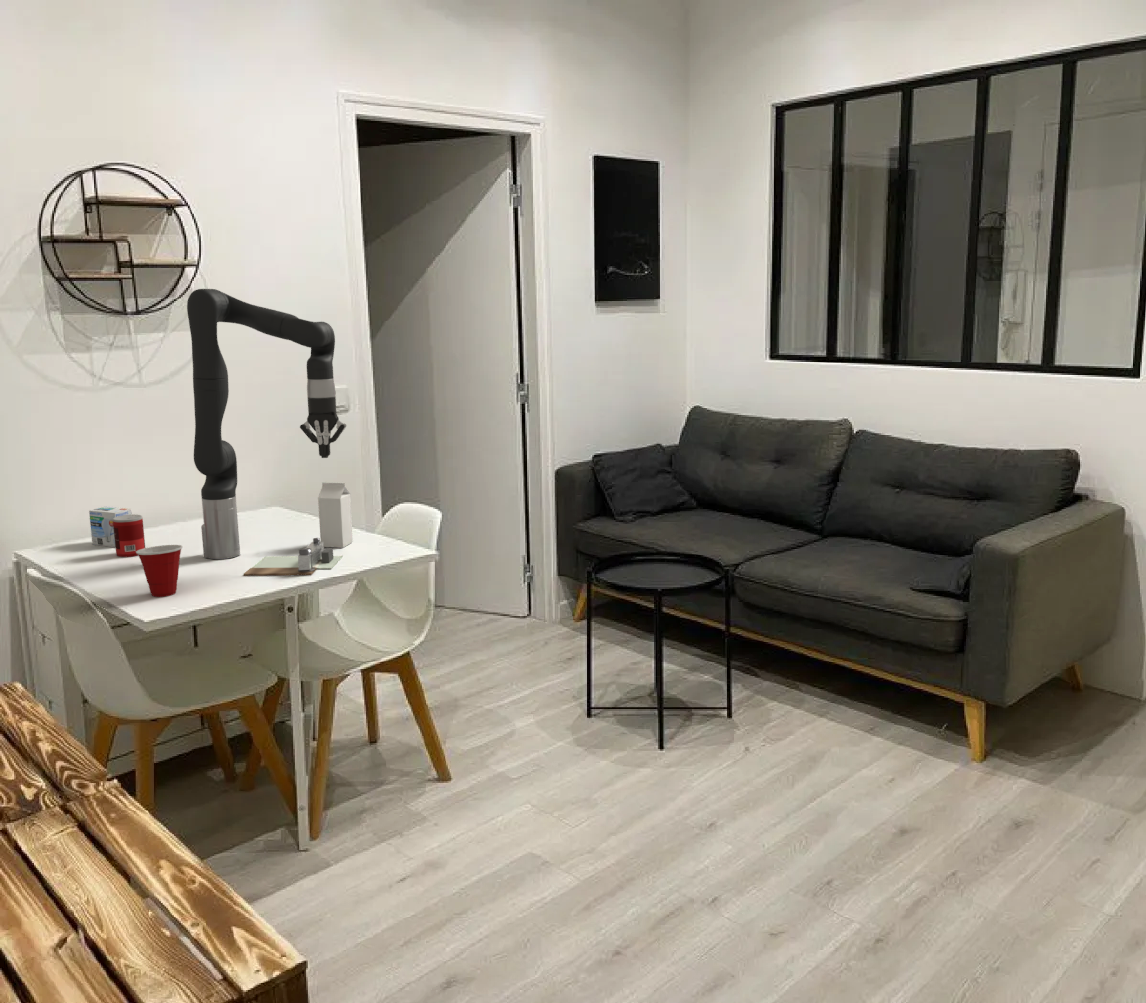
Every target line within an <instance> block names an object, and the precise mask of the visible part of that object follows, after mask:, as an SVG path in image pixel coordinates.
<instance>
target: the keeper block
mask: <svg viewBox="0 0 1146 1003" xmlns="http://www.w3.org/2000/svg"><path fill="white" fill-rule="evenodd" d="M321 555H322V563H330V562H331V561H332V560H333V556H334V547H324V550H323V551H322V552H321Z"/></svg>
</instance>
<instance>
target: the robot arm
mask: <svg viewBox="0 0 1146 1003" xmlns="http://www.w3.org/2000/svg"><path fill="white" fill-rule="evenodd" d="M186 302H187V303H186V311H187V317H188V319H187V320H188V324H189V331H190V338H191V356H192V357H191V358H192V385H193V398H194V400H193V401H194V402H193V403H194V421H195V422H194V425H195V426H194V427H195V428H194V441H193V442H194V444H193V463H194V466H195V468H196V469H197V471H198V472H199V473H200V474H202V475H204V476H205V481H204V484H203V486H202V487H201V488H200V489H201V490H200V495H201V496H200V497H201V504H202V505H201V506H202V507H201V508H202V516H203V523H202V525H201V539H202V549H203V559H211V560H224V559H225V560H227V559H231V558H234V557H239V556H240V555H241V546H240V545H241V544H240V534H239V522H238V506H237V494H236V491H237V490H236V489H237V486H238V461H237V454H236V451H235V449H234V447H233V446H232V444H230V442H228V441H226V440H223V439H222V438H223V437H222V424H223V419H224V415H225V412H226V408H227V404H228V401H229V394H230V393H229V391H230V390H229V372H228V368H227V364H226V361H225V359H224V357H223V354H222V351H221V348H220V346H219V340H218V323H231V324H236V325H237V324H238V325H241V326H245V327H248V328H250V329H253V330H255V331H257V332H260V333H262V334H264V335H267V336H270V337H275V338H279V339H282V340H286V341H291V342H293V343H296V344H298V345H301V346H303V347H306V348H310V356H309V358H308V359H307V361H306V379H307V383H306V394H307V410H308V412H307V413H308V414H307V418H306V421H305V422H304V423H302V424H300V425H299V428H300V429H301V431H302V432H303V433H304V434H305V435H306V436H307V438H308V439H309V440H310V442H312V443H315V444H317V446H318V455H319V457H321V459H327V458H329V456H330V455H331V443H334V442H336V441H337V440H338V438H340V436H341V434H343V432H344V430H345V429H346V427H347V424H346V423H343V422H342V421H340V420H339V416H338V414H337V398H336V396H337V395H336V387H335V378H334V366H333V362H334V361H333V360H334V355H335V347H336V346H335V344H336V336H335V331H334V329H333V327H332V325H331V324H330V323H327V322H325V321H310V320H306V319H302V318H299V317H297V316H296V315H295V314H291V313H288V312H283V311H280V310H276V309H272V308H267V307H263V306H259V305H255V304H252V303H248V302H246V301H243V300H242V299H241V300H240V299H238V298H236V297H234V296H232V295H229V294H227V293H225V292H223V291H220V290H219V289H216V288H215V289H214V288H198V289H195V290H193V291H192V292H191V293H190V295H189V296H188V299H187V301H186ZM335 427H336V431H335V432H334V434H333V435H332V431H333V429H334V428H335ZM311 428H312V429H313V431H314V432H315V433H314V432H313V431H312V430H311ZM331 435H332V436H331Z"/></svg>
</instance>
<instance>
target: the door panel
mask: <svg viewBox="0 0 1146 1003" xmlns="http://www.w3.org/2000/svg"><path fill="white" fill-rule="evenodd" d="M342 558H343V556H342V555H333V560H332V561H331V562H330V563H322V558H321V559H320V560H319V561H318V562H317V563H316V564H315V565H314V566H313V567H317V570H333V569H334V567H335V566H336V565H337V564H338V563H339V562H340V561H341V559H342ZM338 561H339V562H338ZM295 567H299V565H298V555H297V556H295V555H293V556H290V555H289V556H287V555H286V556H284V555H283V556H264V557H263V558H262V559H261V560H259V561H258V562H257V563H255V565H253V566H252V567H251V568H295Z"/></svg>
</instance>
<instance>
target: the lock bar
mask: <svg viewBox="0 0 1146 1003" xmlns="http://www.w3.org/2000/svg"><path fill="white" fill-rule="evenodd" d="M324 549H325V547H324V545H323V541H321V539H320V537H314V538H312V542H310V543H309V544H308V545H306V547H303V548H299V549H298V555H297V556H298V565H299V570H311V569H312V567H313V566H314V565H315V564H316V563H317V562H318V561H319V560H320V559H321V558H322V555H321V552H322V551H323V550H324Z"/></svg>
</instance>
